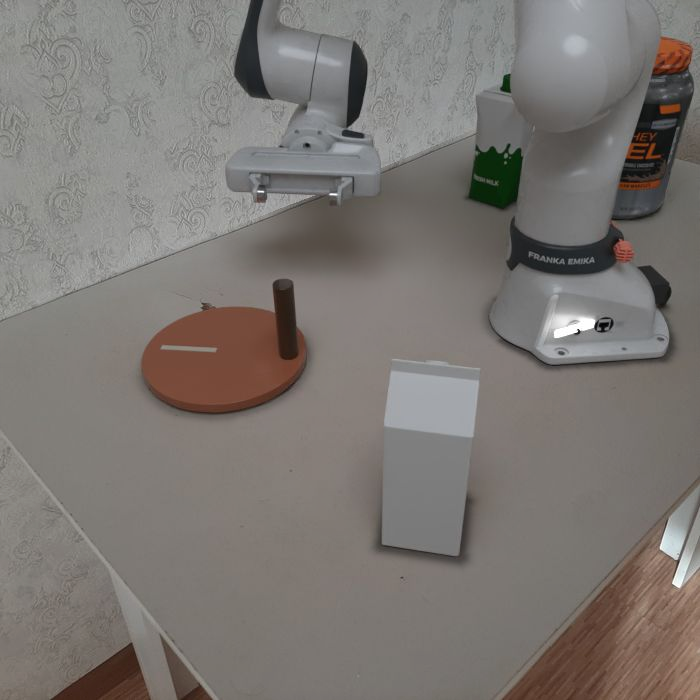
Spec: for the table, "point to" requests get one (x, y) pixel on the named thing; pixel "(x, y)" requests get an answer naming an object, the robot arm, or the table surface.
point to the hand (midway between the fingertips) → (296, 199)
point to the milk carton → (427, 454)
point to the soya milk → (498, 146)
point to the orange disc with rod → (227, 355)
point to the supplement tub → (656, 132)
